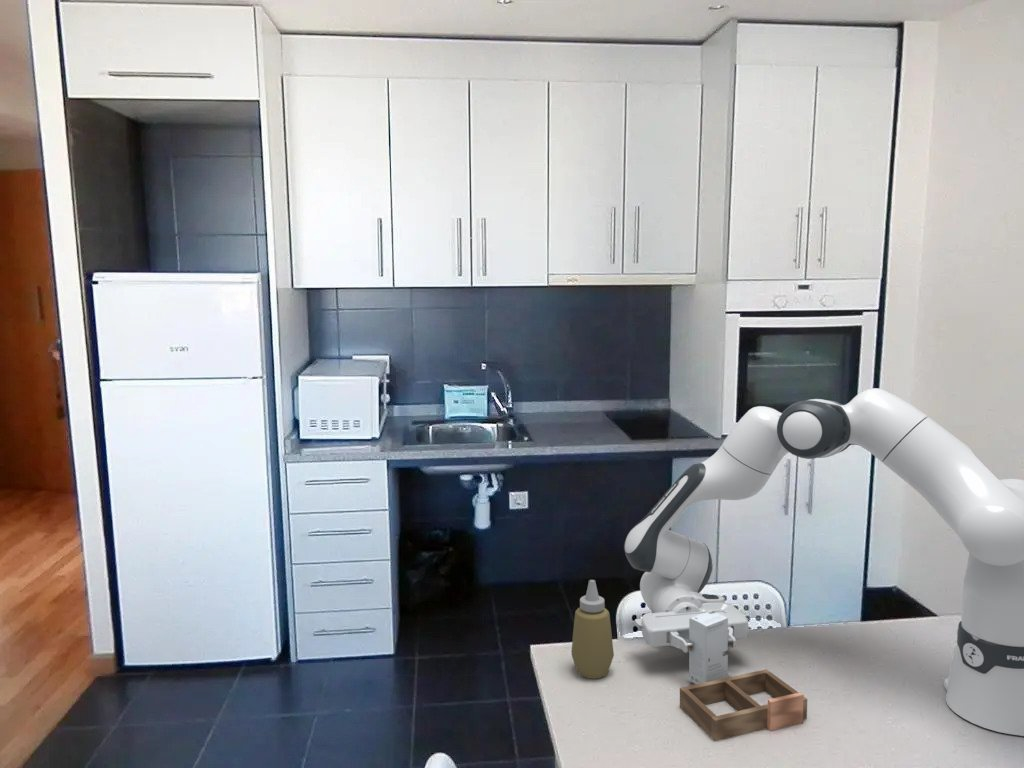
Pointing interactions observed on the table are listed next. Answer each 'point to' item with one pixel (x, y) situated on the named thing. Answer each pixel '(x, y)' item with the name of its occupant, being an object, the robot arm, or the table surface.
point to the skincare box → (708, 647)
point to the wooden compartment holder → (744, 704)
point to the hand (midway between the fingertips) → (710, 646)
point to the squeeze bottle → (592, 635)
